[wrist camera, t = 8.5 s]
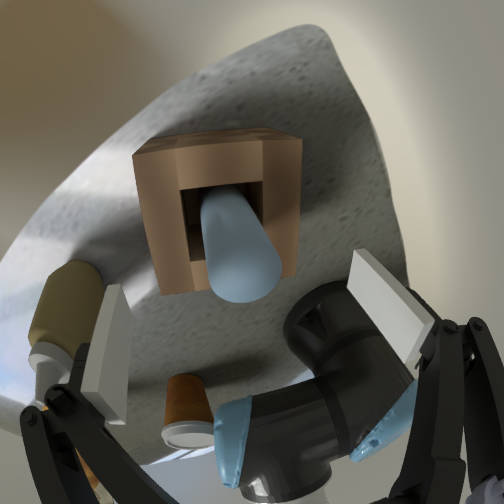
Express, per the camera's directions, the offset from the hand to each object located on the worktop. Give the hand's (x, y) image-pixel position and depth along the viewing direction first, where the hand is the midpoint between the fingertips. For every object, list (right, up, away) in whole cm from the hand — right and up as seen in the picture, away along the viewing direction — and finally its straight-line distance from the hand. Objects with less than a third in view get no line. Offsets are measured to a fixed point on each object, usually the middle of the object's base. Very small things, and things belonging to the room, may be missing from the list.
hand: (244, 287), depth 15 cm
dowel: (-3, +8, +12) cm, 14 cm away
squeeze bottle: (-21, -1, +15) cm, 26 cm away
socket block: (-4, +9, +13) cm, 16 cm away
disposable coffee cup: (-12, -22, +30) cm, 39 cm away
